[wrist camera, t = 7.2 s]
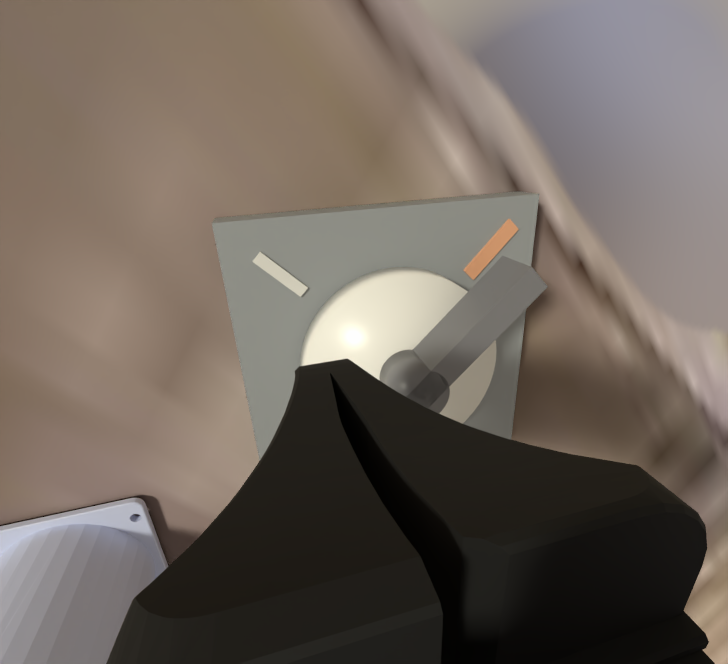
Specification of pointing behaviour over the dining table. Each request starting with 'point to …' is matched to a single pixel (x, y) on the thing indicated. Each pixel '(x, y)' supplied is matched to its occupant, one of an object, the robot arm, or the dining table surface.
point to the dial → (424, 331)
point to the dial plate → (350, 261)
